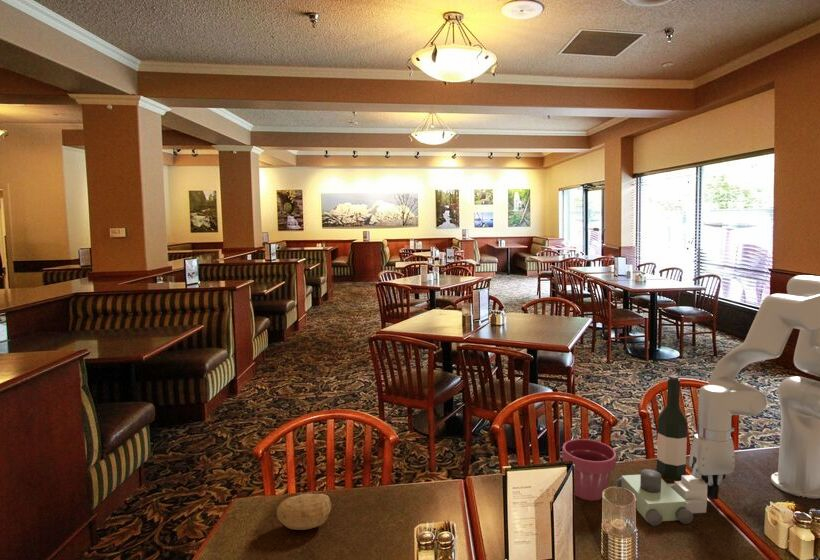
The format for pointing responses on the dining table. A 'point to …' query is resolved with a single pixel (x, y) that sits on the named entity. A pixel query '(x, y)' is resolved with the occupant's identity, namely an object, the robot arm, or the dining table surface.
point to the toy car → (660, 498)
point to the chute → (691, 488)
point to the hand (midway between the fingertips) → (711, 496)
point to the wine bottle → (672, 434)
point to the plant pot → (590, 466)
